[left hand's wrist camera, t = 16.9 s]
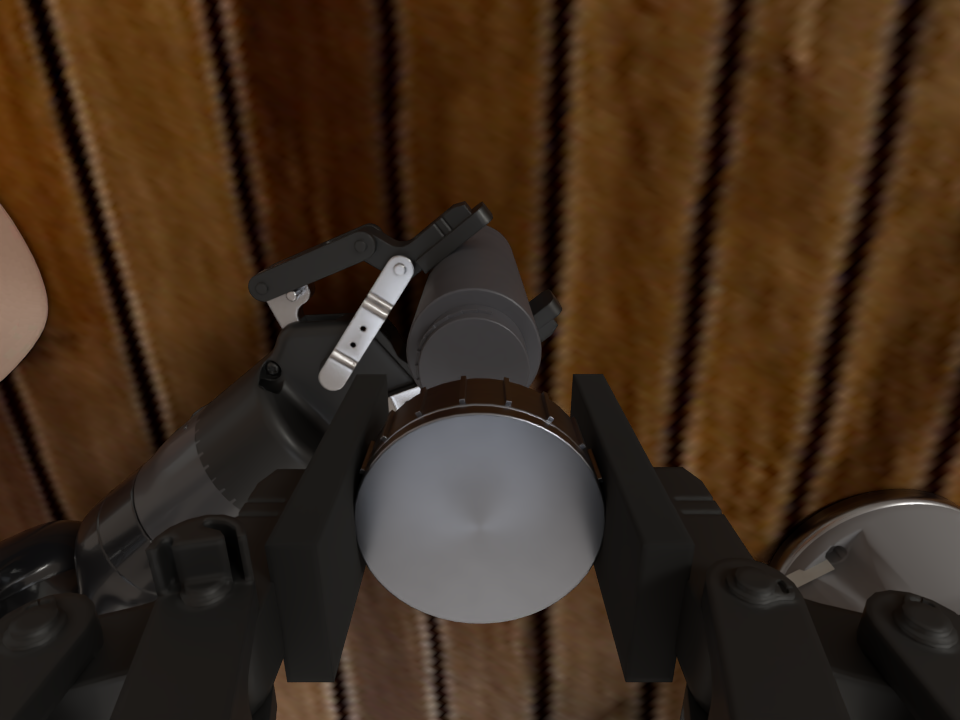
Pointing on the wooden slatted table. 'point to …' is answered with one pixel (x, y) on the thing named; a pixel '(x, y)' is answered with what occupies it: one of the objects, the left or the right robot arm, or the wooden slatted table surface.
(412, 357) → the dark grey cylinder
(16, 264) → the anatomical model
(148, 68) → the wooden slatted table surface
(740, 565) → the left robot arm
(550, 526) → the lid
